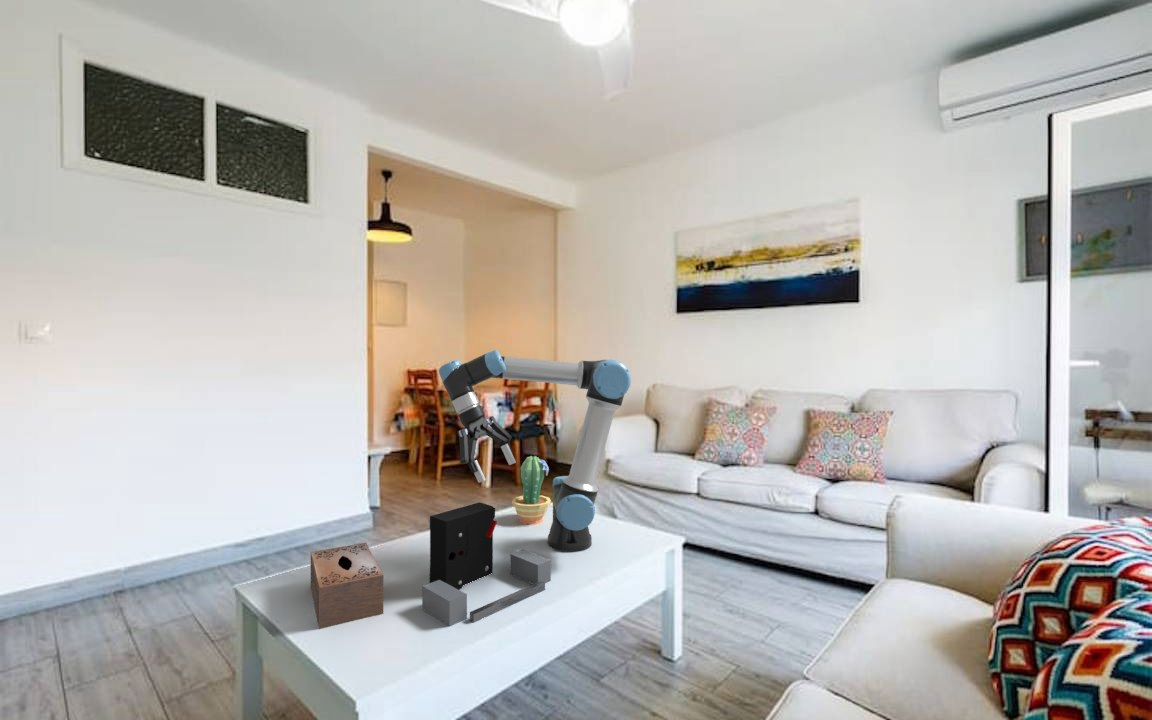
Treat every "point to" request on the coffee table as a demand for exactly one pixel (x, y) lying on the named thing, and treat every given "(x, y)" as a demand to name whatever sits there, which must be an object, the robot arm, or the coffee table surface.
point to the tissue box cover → (345, 585)
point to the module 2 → (530, 567)
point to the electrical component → (462, 544)
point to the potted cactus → (532, 492)
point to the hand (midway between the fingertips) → (498, 472)
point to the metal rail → (506, 601)
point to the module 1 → (444, 602)
